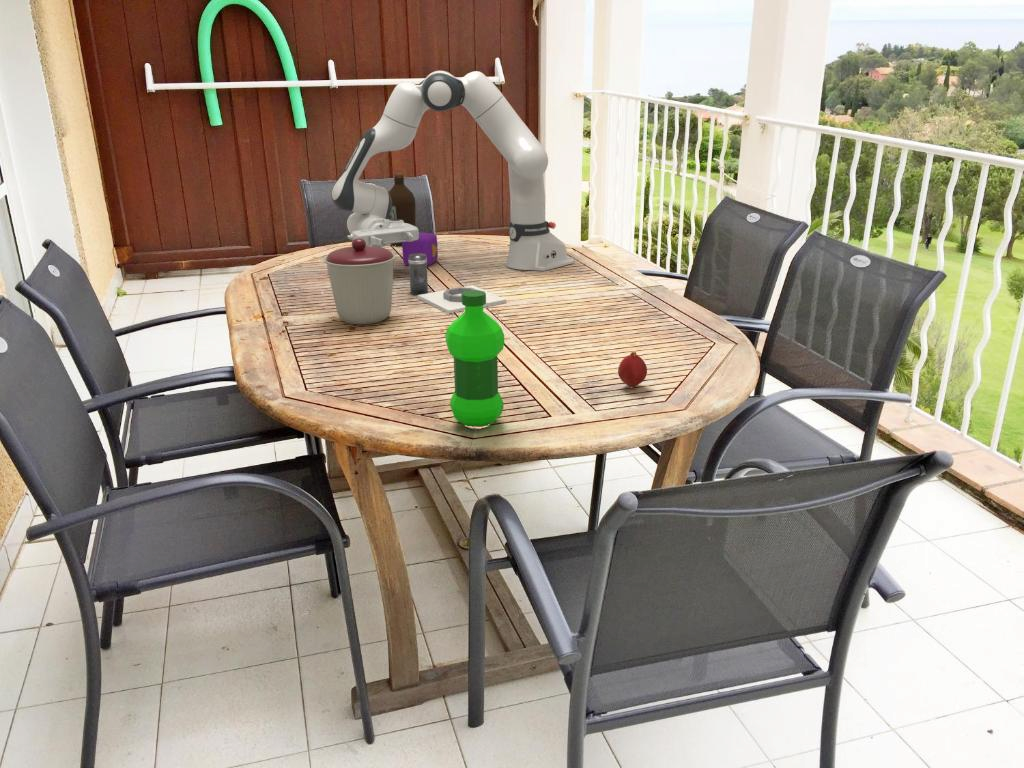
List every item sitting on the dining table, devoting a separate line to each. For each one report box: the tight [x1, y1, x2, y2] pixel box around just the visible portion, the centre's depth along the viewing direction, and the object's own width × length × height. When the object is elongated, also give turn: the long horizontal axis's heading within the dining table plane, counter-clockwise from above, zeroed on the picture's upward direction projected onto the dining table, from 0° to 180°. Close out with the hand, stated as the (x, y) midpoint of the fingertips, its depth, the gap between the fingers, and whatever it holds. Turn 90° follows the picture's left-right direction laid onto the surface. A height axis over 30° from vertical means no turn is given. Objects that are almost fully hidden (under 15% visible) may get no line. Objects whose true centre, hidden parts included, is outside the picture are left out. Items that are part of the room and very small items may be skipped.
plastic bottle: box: [445, 290, 505, 426], centre depth 145 cm, size 10×10×25 cm
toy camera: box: [402, 232, 439, 267], centre depth 266 cm, size 11×14×10 cm
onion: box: [617, 350, 648, 388], centre depth 164 cm, size 6×6×8 cm
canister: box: [323, 238, 397, 325], centre depth 207 cm, size 18×18×21 cm
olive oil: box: [388, 172, 417, 247], centre depth 289 cm, size 11×11×25 cm
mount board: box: [417, 284, 507, 314], centre depth 225 cm, size 18×18×2 cm
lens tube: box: [408, 253, 429, 296], centre depth 231 cm, size 5×5×11 cm
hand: (396, 240), depth 238 cm, fingers open, 8 cm apart
